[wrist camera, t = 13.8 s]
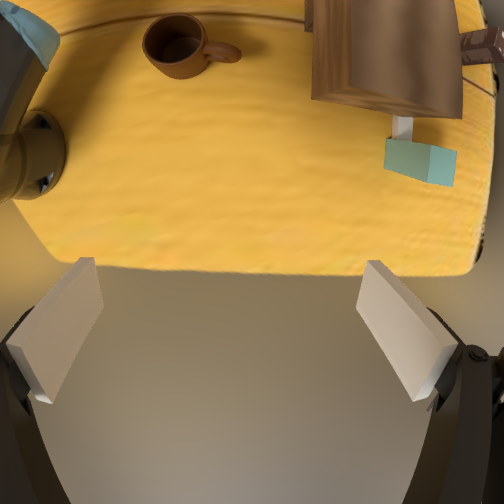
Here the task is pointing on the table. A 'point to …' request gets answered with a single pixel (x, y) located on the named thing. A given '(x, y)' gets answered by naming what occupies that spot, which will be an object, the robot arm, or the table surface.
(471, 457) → the robot arm
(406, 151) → the tool
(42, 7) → the table surface
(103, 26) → the table surface
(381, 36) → the wooden cabinet
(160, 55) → the mug
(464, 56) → the box
